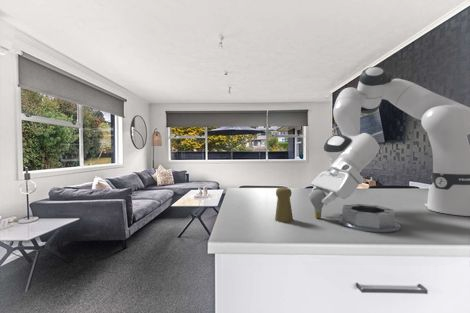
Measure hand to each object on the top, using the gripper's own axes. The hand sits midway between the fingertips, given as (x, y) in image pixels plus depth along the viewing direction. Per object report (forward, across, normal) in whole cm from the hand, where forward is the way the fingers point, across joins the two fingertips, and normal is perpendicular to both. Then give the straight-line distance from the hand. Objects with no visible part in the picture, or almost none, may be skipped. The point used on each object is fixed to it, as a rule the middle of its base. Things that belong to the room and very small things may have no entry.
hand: (316, 200), depth 80 cm
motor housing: (-5, +8, +13) cm, 17 cm away
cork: (+13, 0, -4) cm, 13 cm away
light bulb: (+4, 0, +5) cm, 6 cm away
